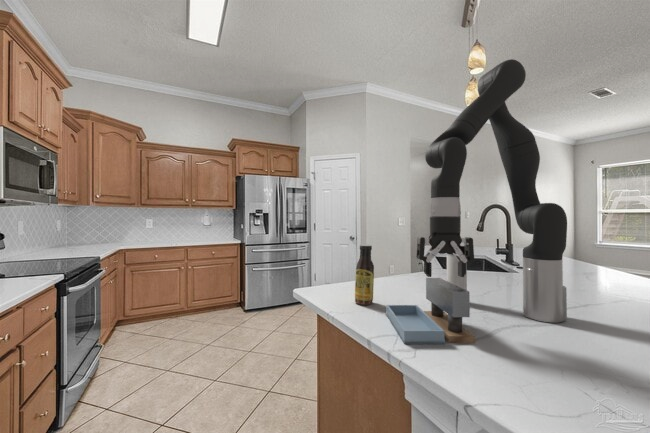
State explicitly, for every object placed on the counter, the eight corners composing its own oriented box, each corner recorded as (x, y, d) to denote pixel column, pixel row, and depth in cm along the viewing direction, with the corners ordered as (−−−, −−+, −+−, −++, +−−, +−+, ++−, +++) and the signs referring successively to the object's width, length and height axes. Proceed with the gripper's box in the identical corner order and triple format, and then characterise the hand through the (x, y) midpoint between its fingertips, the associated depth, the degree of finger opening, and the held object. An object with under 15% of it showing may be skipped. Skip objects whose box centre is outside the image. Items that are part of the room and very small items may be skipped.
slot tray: (417, 315, 84) (416, 305, 84) (444, 344, 65) (444, 331, 65) (386, 315, 84) (386, 305, 84) (404, 344, 65) (404, 330, 65)
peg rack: (443, 316, 83) (442, 297, 83) (474, 342, 65) (474, 318, 65) (422, 316, 83) (422, 297, 84) (449, 342, 65) (448, 318, 66)
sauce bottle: (352, 304, 95) (351, 245, 96) (358, 299, 101) (358, 243, 101) (370, 307, 92) (370, 246, 92) (376, 302, 98) (376, 244, 98)
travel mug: (448, 304, 95) (447, 244, 95) (445, 299, 101) (445, 243, 102) (468, 306, 93) (468, 245, 93) (465, 300, 100) (464, 243, 100)
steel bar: (439, 298, 83) (439, 277, 83) (469, 317, 67) (469, 291, 67) (426, 298, 82) (426, 277, 83) (453, 317, 66) (452, 291, 67)
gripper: (465, 215, 79) (464, 274, 78) (413, 215, 79) (413, 273, 79) (479, 215, 71) (479, 279, 71) (422, 214, 71) (422, 279, 71)
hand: (444, 276), depth 75 cm, fingers open, 8 cm apart
